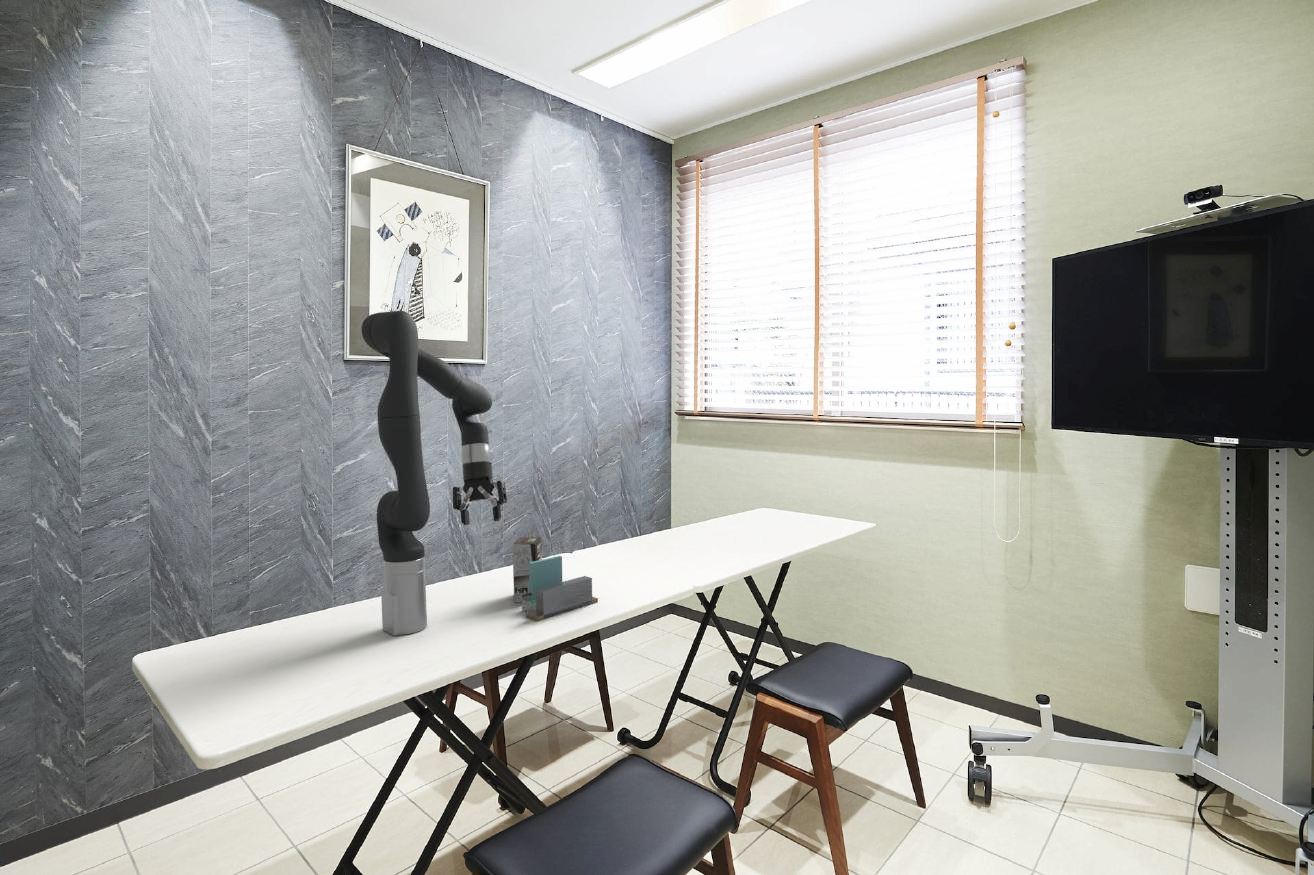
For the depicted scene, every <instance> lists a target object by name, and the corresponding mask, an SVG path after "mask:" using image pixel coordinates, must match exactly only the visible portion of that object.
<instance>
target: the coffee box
mask: <svg viewBox="0 0 1314 875" xmlns="http://www.w3.org/2000/svg"><path fill="white" fill-rule="evenodd" d="M542 550H543V549H542V536H529V537H528V536H527V537H519V538H518V539H517V540H516V541H515V542H513V543H512V566H513V567H512V572H513V574H512V576H513V602H514V603H522V599H525V598H530V596H527V597H522V595H523V594H527V593H530V590H529V563H530V562H534V561H538V560H542V559H543V554H542V552H543V551H542Z"/></svg>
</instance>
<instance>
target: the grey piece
mask: <svg viewBox="0 0 1314 875" xmlns="http://www.w3.org/2000/svg"><path fill="white" fill-rule="evenodd" d="M595 603H599V598H598V597H595V596H593V577H590V576H586V575H583V576H579V577H576V578H572V579H568V580H565V581H562V582H560V583H557V584H553V585H549V586H546V587H542V588H538V589H536V599H531V598H525V599H522V602H521V611H522V612H525V613H526V618H528V619H531V620H533V621H536V622H539V621H542V620H545V619H548V618H551V617H554V616H558V615H562V614H565V613H567V612H570V611H574V610H576V609H580V608H583V607H586V606H590V605H593V604H595Z"/></svg>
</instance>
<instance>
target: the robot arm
mask: <svg viewBox="0 0 1314 875" xmlns="http://www.w3.org/2000/svg"><path fill="white" fill-rule="evenodd" d="M360 330H361V336H362V338H363V340H364V342H365V343H366V345H367V346H368V347H369V348H370V349H371V350H372V351H373V350H374V351H375V352H377V353H378V354H381V355H382V356H384V357H386V358H388V360H389V361H388V362H389V373H388V379H387V381H386V384H385V386H384V389H383V391H382V394H381V395H380V399H379V402H378V404H377V414H376V415H377V416H376V417H377V429H378V430H377V431H378V436H379V439H380V440H379V441H380V442H381V446H382V448H383V450H384V451H385V454H386V455H387V457H388V459H389V462H390V463H391V465H392V467H393V469H394V473H395V477H396V481H397V490H391V491H388V492H386V493H384V494H383V495H382V496H381V497H380V499H379V501H378V504H377V507H376V508H377V509H376V525H377V526H376V527H377V538H378V545H379V549H380V551H381V552H382V555H383V556H382V558H383V579H384V580H383V582H384V584H383V585H384V590H382V591H381V593H380V595H381V620H382V621H381V622H382V631H384V632H385V633H388V634H389V635H392V636H393V637H395V636H400V635H401V636H402V635H409V634H415V633H418V632H420V631H423V630H425V629H426V628H427V626H428V614H427V590H426V589H427V588H426V587H427V585H426V584H427V583H426V558H425V557H426V556H425V552H426V551H425V546H424V544H423V543H422V542H421V541H420V540H418V538H416V536H415V535H414V532H418V531H421V530H422V529H423V528H424V527H425V526H426V525H427V523H428V522H429V518H430V513H431V504H430V503H431V502H430V498H429V492H428V485H427V481H426V475H425V467H424V460H423V459H424V457H423V456H424V455H423V448H422V447H423V446H422V434H421V433H422V431H421V430H422V428H421V425H422V424H421V416H420V407H419V406H420V404H419V388H418V387H419V386H418V378H420V379H422V380H423V381H425V383H427V384H428V385H429V386H431V387H432V388H433V389H434V390H435V391H436V392H438V393H439V394H440V395H441V396H443V397H444V398H446V399H448V400H452V401H451V402H452V403H451V405H452V406H451V407H452V408H451V409H452V411H453V414H454V417H455V419H456V422H457V425H458V428H459V430H460V439H461V465H462V476H463V477H462V480H463V486H453V487H452V509H453V510H458V511H459V512H460V520H461V521H460V522H461V524H463V526H470V524H471V522H470V512H469V508H470V506H472V504H473V503H474V502H477V501H478V502H479V501H484V500H485V501H486V500H487V501H489V502H490V504H492V506H493V507H492V516H493V522H500V519H502V512H501V511H502V510H501V508H502V507H501V506H502V505H504V504H507V502H508V496H507V489H506V482H505V481H504V480H497V481H494V480H493V465H492V463H493V462H492V459H493V458H492V453H491V449H490V438H489V429H488V426H487V424H485V423H482V422H478V421H477V422H475V420H474V418H473V416H476V415H481V414H485V413H487V412H488V411H490V410H491V408H492V406H493V398H492V395H491V393H490V392H489V391H488V389H486V387H484V386H483V385H481V384H480V383H477V382H476V381H473V380H471V379H469V378H467V377H465V376H463V375H462V374H460V373H459V372H458V371H457V370H456V369H455V368H454V367H453V366H451V364H449V363H448V362H446V361H444V359H441V358H440V357H437V356H435V355H433V354H431V353H429V352H427V351H424V350H423V349H421V348H419V333H418V332H419V331H418V326H417V322H416V321H415V319H414V317H413V316H412V315H411V314H410V313H409V312H407V311H404V310H393V311H391V310H390V311H383V312H382V311H381V312H375V313H373V314H370V315H368V316H366V317H365V319H364V320H363V322H362V323H361V329H360ZM494 488H495V490H497V494H498V495H497V496H498V497H497V496H496V495H495V494H494V493H493V490H494ZM464 493H465V496H464V498H463V499H462V495H463V494H464Z"/></svg>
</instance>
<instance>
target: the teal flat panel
mask: <svg viewBox="0 0 1314 875" xmlns="http://www.w3.org/2000/svg"><path fill="white" fill-rule="evenodd" d="M560 582H563V556H561V555H557V556H556V555H555V556H552V557H547V558H542V560H538V561H534V562H530V563H529V590H530V593H527V594H523V595H522V597H527V596H530V598H531V599H536V589H538V588H542V587H546V586H549V585H553V584H557V583H560Z"/></svg>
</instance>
